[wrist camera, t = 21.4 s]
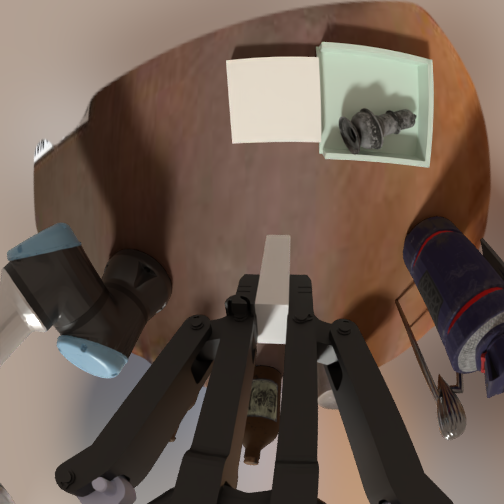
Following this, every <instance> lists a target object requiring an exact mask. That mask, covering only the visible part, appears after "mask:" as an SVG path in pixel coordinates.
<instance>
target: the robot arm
mask: <svg viewBox="0 0 504 504" xmlns="http://www.w3.org/2000/svg"><path fill="white" fill-rule="evenodd" d="M7 257H8V260H9V261H10V262H9V263H8V264H7V265H6V266H5V267H4V268H3V269H2V273H1V281H0V367H1V366H2V365H3V363H4V362H5V361H6V360H7V359H8V358H9V357H10V355H11V354H12V353H13V352H14V351H15V350H16V349H17V348H18V346H19V345H20V344H21V343H22V342H23V341H24V340H25V339H26V338H27V337H28V336H29V335H30V334H31V333H32V332H33V331H41V332H46V331H48V330H49V329H50V327H51V326H52V325H53V326H54V327H55V328H56V329H57V331H58V332H59V333H60V335H61V336H59V337H58V341H57V347H58V349H59V351H60V352H61V354H62V355H64V357H65V358H66V359H67V360H69V361H70V362H71V363H72V364H74V365H75V366H77V367H78V368H81V369H82V370H84V371H86V372H88V373H90V374H92V375H95V376H98V377H102V378H113V377H116V376H117V375H118V374H119V373H120V371H121V370H122V368H123V366H124V365H125V363H127V362H128V358H129V356H130V354H131V352H132V350H133V348H134V346H135V344H136V342H137V340H138V338H139V336H140V334H141V332H142V330H143V328H144V327H145V325H146V323H147V321H148V320H150V319H151V318H152V317H153V316H154V315H155V314H156V313H158V312H159V311H161V310H162V309H163V308H164V307H165V306H166V304H167V302H168V301H169V299H170V297H171V293H172V286H171V282H170V279H169V277H168V275H167V273H166V271H165V270H164V268H163V267H162V266H161V265H160V264H159V263H158V262H157V261H156V260H155V259H153V258H152V257H150V256H149V255H147V254H145V253H143V252H140V251H137V250H132V249H125V250H121V251H119V252H117V253H116V254H114V255H113V257H112V258H111V259H110V260H109V261H108V263H107V264H106V267H105V271H104V274H103V276H102V279H101V278H100V276H99V275H98V273H97V272H96V270H95V268H94V267H93V265H92V263H91V262H90V260H89V258H88V257H87V255H86V253H85V251H84V249H83V248H82V246H81V242H79V241H78V239H77V238H76V236H75V234H74V233H73V231H72V229H71V228H70V226H69V225H67V224H66V223H57V224H55V225H53V226H51V227H49V228H47V229H45V230H43V231H41V232H39V233H38V234H36V235H34V236H32V237H30V238H29V239H27V240H25V241H23V242H22V243H20V244H19V245H17V246H15V247H14V248H12V249H11V250H9V251H8V252H7ZM225 308H226V314H227V316H226V317H224V318H221V319H217V320H211V321H210V320H209V318H208V317H206V316H204V315H194V316H191V317H189V318H188V319H187V320H186V321H185V322H184V323H183V324H182V326H181V327H180V328H179V330H178V331H177V332H176V334H175V335H174V336H173V337H172V339H171V340H170V341H169V343H168V344H167V345H166V347H165V348H164V349H163V351H162V352H161V353H160V354H159V356H158V357H157V358H156V360H155V361H154V362H153V364H152V365H151V367H150V368H149V369H148V370H147V372H146V373H145V374H144V376H143V377H142V378H141V380H140V381H139V382H138V384H137V385H136V386H135V388H134V389H133V390H132V392H131V393H130V394H129V396H128V397H127V398H126V399H125V401H124V402H123V404H122V405H121V406H120V408H119V409H118V410H117V412H116V413H115V414H114V416H113V417H112V418H111V420H110V421H109V422H108V424H107V425H106V426H105V428H104V429H103V431H102V432H101V433H100V435H99V436H98V437H97V438H96V440H95V441H94V443H93V444H92V445H91V446H89V447H88V448H86V449H85V450H83V451H81V452H80V453H78V454H77V455H75V456H73V457H72V458H70V459H69V460H67V461H65V462H64V463H62V464H61V465H60V466H59V467H58V468H57V469H56V472H55V479H56V482H57V484H58V486H59V487H60V488H61V489H62V490H64V491H66V492H68V493H70V494H73V495H75V496H77V497H78V499H79V500H80V502H81V503H82V504H133V503H134V501H135V500H136V493H135V490H134V488H135V487H136V486H137V485H139V483H140V482H141V481H142V480H143V479H144V478H145V477H146V476H147V474H148V473H149V472H150V470H151V469H152V467H153V465H154V464H155V462H156V461H157V459H158V458H159V456H160V454H161V453H162V451H163V450H164V448H165V447H166V445H167V444H168V442H169V440H170V439H171V437H172V436H173V434H174V432H175V431H176V429H177V427H178V426H179V424H180V423H181V421H182V419H183V417H184V416H185V414H186V413H187V411H188V410H189V408H190V406H191V405H192V403H193V401H194V400H195V398H196V396H197V395H198V393H199V391H200V390H201V388H202V386H203V385H204V383H205V381H206V380H207V378H208V376H209V375H210V373H211V375H210V378H209V382H208V386H207V390H206V393H205V397H204V401H203V404H202V408H201V412H200V416H199V419H198V423H197V427H196V431H195V434H194V438H193V442H192V445H191V448H190V449H189V450H188V451H186V453H185V454H184V456H183V459H182V463H181V466H180V470H179V473H178V477H177V481H176V485H175V487H173V488H171V489H170V490H168V491H166V492H165V493H163V494H162V495H160V496H159V497H157V498H155V499H154V500H152V501H151V502H149V503H147V504H326V503H325V502H323V501H322V500H320V499H319V498H317V496H318V478H319V465H318V461H317V440H318V377H317V362H319V363H322V364H323V366H324V368H325V371H326V374H327V377H328V380H329V383H330V386H331V389H332V391H333V394H334V397H335V400H336V403H337V406H338V409H339V412H340V415H341V418H342V421H343V424H344V427H345V430H346V433H347V436H348V439H349V442H350V445H351V449H352V451H353V455H354V458H355V461H356V465H357V467H358V471H359V474H360V478H361V481H362V484H363V487H364V490H365V493H366V495H367V498H368V500H369V502H370V504H453V502H452V501H451V500H450V499H449V498H448V497H447V496H446V495H445V494H444V493H443V492H442V491H441V490H440V489H439V487H437V485H436V484H435V483H433V481H432V480H431V479H430V478H429V477H428V476H427V475H426V474H425V473H424V471H423V468H422V466H421V463H420V460H419V458H418V455H417V453H416V451H415V448H414V446H413V443H412V441H411V439H410V436H409V434H408V432H407V429H406V427H405V424H404V422H403V420H402V417H401V415H400V413H399V411H398V409H397V406H396V404H395V402H394V400H393V398H392V395H391V393H390V391H389V389H388V387H387V385H386V383H385V381H384V379H383V376H382V375H381V372H380V370H379V368H378V366H377V364H376V362H375V360H374V358H373V356H372V354H371V352H370V350H369V348H368V346H367V344H366V342H365V340H364V338H363V336H362V334H361V333H360V331H359V329H358V327H357V325H356V324H355V323H354V322H352V321H350V320H347V319H339V320H336V321H334V322H333V323H332V324H330V323H326V322H323V321H321V320H319V319H318V318H317V317H316V316H315V315H314V312H313V298H312V284H311V280H310V278H309V277H308V275H290V235H267V237H266V243H265V249H264V255H263V260H262V266H261V272H260V275H253V274H245V275H244V276H243V277H242V278H241V279H240V281H239V285H238V289H237V292H236V295H233V296H230V297H229V298H228V299H227V300H226V301H225ZM257 340H258V343H273V344H286V345H285V360H284V375H283V388H282V401H281V412H280V423H279V433H278V443H277V453H276V461H275V469H274V476H273V484H272V490H269V491H262V492H254V493H245V492H242V491H239V490H237V489H236V488H237V482H238V466H239V461H240V455H241V448H242V443H243V437H244V431H245V425H246V419H247V413H248V406H249V400H250V394H251V387H252V381H253V374H254V367H255V361H256V354H257V346H256V344H257ZM0 504H15V503H14V501H13V499H12V497H11V496H10V495H9V493H8V492H7V491H6V490H5V488H4V487H3V486H2V485H1V483H0Z"/></svg>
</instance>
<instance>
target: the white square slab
mask: <svg viewBox="0 0 504 504" xmlns="http://www.w3.org/2000/svg"><path fill="white" fill-rule="evenodd" d="M226 65H227V78H228V92H229V105H230V118H231V131H232V143H252V142H321V96H320V72H319V57H262V58H247V59H236V60H226Z"/></svg>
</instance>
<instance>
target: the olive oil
mask: <svg viewBox="0 0 504 504" xmlns="http://www.w3.org/2000/svg"><path fill="white" fill-rule="evenodd" d="M280 395H281V374H280V372H279V371H277V370H276V369H274V368H271V367H268V366H255V367H254V374H253V381H252V387H251V394H250V400H249V406H248V413H247V419H246V425H245V431H244V437H243V443H242V444H243V446H244V447H245V455H244V458H245V460H244V463H245V464H248V465H258V463H259V462H258V460H259V459H260V451H261V450H262V449H263V448H264V447H265V446H267V445H268V444H270V443H271V442H272V441H273V440H274V439H275V438H276V437H277V435H278V432H279V423H280V398H281V396H280Z"/></svg>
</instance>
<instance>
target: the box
mask: <svg viewBox="0 0 504 504" xmlns="http://www.w3.org/2000/svg"><path fill="white" fill-rule="evenodd" d="M316 56H317V57H319V72H320V96H321V142H319V153H320V154H323V156H324V157H325V159H342V160H359V161H373V162H384V163H395V164H404V165H413V166H421V167H428V168H429V165H430V156H431V145H432V131H433V101H434V92H433V64H432V60H430V59H426V58H422V57H418V56H414V55H410V54H406V53H401V52H397V51H392V50H387V49H381V48H375V47H368V46H361V45H353V44H344V43H332V42H322V43H321V44H320V46H319V47H316ZM362 108H366V109H369V110H370V111H371V112H372V113H373V114H374V115H381V114H385V113H386V111H388V110H391V111H393V112H395V111H398V110H402V109H408V110H410V111H411V112H412V113H413V114H415V115H417V117H416V119H415V125H414V126H413V127H411V128H408V129H404V130H401V131H400V133H399V134H394V133H393V134H390V135H386V136H385V137H383V146H382V147H381V149H378V150H377V149H366V148H363V147H362V146H360V151H359V153H358V154H357V155H354V154H352V153H351V152H350V151H349V150H348V148H347V147H346V145H345V143H344V141H343V139H342V136H341V133H340V130H339V118H340V117H346V118H347V119H348V120H350V121H351V119H352V117H353V116H354V115H355V114H356V113H357V112H360V110H361V109H362Z"/></svg>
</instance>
